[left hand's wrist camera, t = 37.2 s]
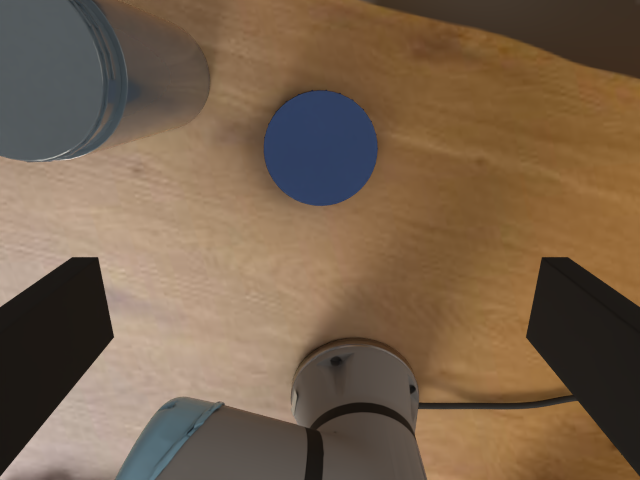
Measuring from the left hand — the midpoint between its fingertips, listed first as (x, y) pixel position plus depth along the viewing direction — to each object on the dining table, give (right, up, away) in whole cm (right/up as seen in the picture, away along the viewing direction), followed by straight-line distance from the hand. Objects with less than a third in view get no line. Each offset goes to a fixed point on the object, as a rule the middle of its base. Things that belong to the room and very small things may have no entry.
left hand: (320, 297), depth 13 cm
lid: (0, +10, +27) cm, 29 cm away
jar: (-15, +17, +26) cm, 35 cm away
